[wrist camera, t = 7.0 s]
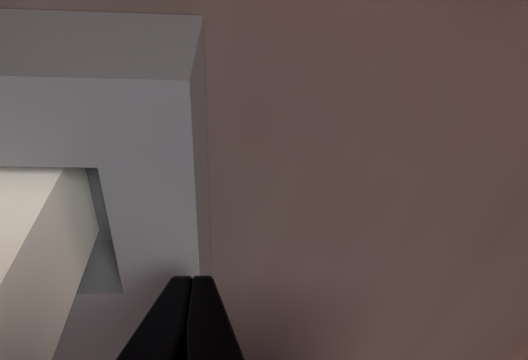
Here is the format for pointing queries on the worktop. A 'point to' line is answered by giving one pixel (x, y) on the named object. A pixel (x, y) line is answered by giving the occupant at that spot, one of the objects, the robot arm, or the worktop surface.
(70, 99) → the switch bank
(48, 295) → the tab
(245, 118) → the worktop surface
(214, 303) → the robot arm
